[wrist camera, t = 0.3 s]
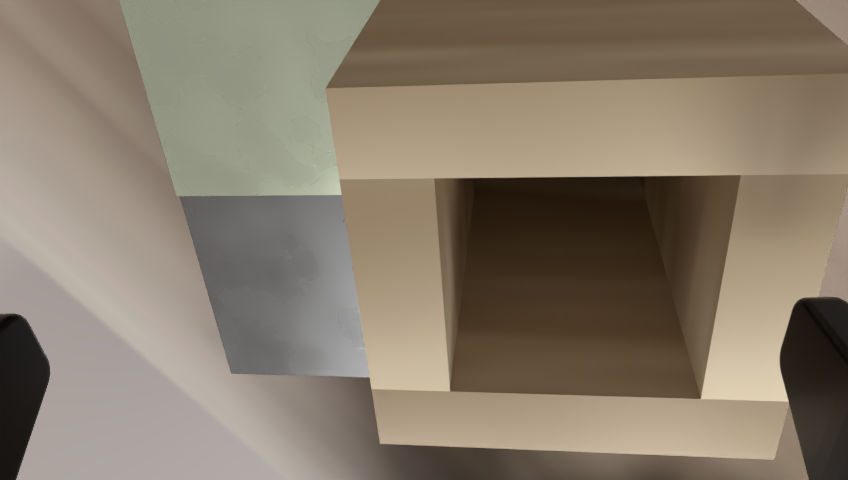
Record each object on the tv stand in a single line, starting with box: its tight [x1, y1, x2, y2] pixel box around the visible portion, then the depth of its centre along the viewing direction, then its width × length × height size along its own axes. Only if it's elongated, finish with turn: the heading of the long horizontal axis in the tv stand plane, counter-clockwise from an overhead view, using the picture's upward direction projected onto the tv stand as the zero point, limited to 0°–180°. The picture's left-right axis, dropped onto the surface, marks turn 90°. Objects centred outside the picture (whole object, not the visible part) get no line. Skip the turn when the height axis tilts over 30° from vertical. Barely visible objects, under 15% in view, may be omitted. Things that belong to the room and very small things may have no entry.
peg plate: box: [119, 0, 380, 377], centre depth 22 cm, size 17×16×6 cm
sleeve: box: [325, 0, 848, 460], centre depth 15 cm, size 6×6×12 cm
